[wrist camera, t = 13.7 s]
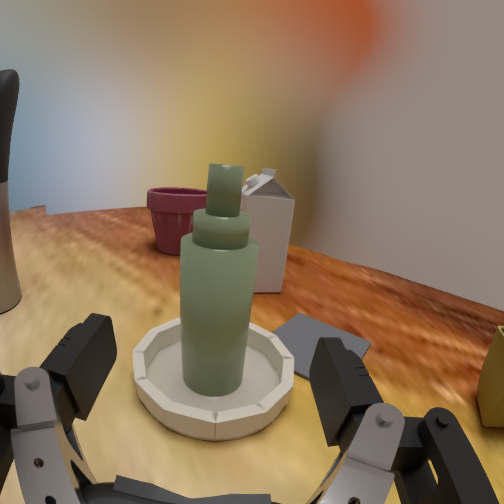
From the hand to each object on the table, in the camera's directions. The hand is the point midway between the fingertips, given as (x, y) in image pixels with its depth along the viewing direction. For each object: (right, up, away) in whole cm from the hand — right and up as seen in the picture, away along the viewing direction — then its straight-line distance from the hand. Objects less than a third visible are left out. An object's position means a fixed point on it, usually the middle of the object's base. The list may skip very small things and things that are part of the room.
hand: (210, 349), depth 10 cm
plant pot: (-15, +4, +50) cm, 52 cm away
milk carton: (+2, -2, +37) cm, 37 cm away
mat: (+9, -8, +21) cm, 24 cm away
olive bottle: (-2, -8, +14) cm, 16 cm away
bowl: (-2, -9, +14) cm, 17 cm away
